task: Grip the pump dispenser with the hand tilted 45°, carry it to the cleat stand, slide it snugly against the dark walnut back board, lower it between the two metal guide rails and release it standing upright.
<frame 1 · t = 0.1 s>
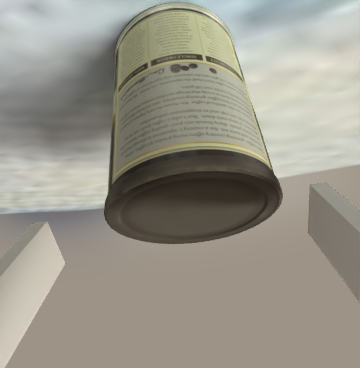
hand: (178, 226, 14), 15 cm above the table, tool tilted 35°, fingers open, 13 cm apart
coffee can: (175, 63, 23), on the table
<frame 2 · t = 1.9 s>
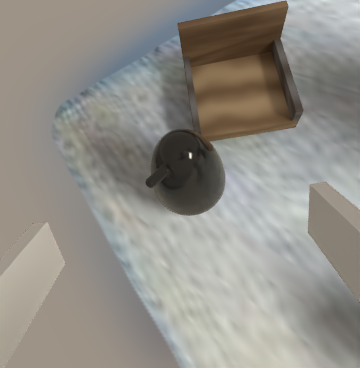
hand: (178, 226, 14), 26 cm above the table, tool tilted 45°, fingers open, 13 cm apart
pump dispenser: (191, 189, 42), on the table
cleat stand: (237, 100, 46), on the table
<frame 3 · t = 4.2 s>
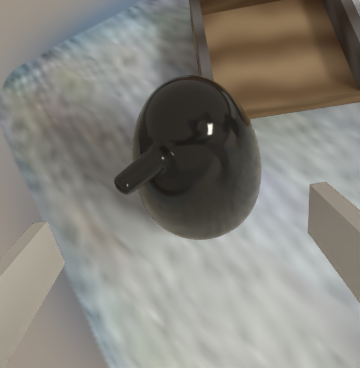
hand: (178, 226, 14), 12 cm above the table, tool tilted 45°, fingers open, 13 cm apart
pump dispenser: (200, 195, 27), on the table
cleat stand: (267, 63, 31), on the table
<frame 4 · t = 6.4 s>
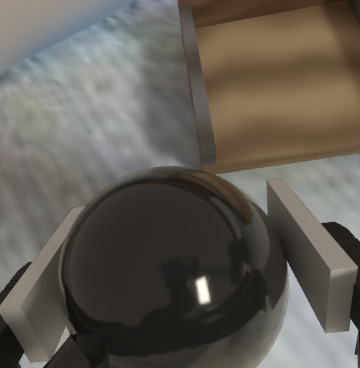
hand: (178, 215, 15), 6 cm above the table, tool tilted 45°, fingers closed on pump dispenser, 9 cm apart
pump dispenser: (192, 277, 20), on the table, touching gripper
cleat stand: (281, 90, 24), on the table
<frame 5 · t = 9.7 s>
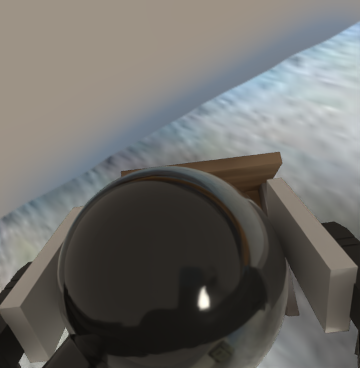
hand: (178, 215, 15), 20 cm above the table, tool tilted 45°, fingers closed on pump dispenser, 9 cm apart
pump dispenser: (192, 277, 20), point 14 cm above the table, touching gripper
cleat stand: (209, 254, 33), on the table
when the fingers open (10 cm above the table, at t = 12.8 s): pump dispenser drops 1 cm, resting on cleat stand.
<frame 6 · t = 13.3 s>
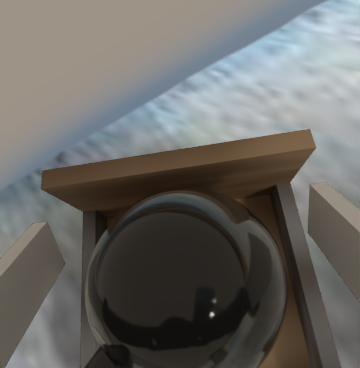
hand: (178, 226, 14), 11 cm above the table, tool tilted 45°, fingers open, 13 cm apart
pump dispenser: (198, 278, 21), point 2 cm above the table, touching cleat stand
cleat stand: (199, 293, 22), on the table
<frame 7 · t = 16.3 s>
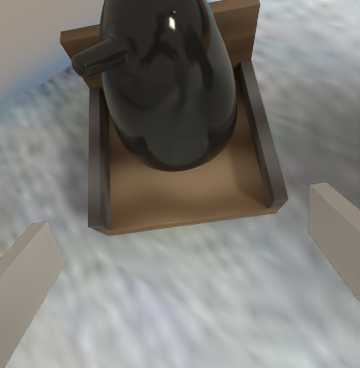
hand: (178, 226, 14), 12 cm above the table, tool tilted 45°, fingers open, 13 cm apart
pump dispenser: (180, 140, 27), point 2 cm above the table, touching cleat stand
cleat stand: (181, 158, 28), on the table
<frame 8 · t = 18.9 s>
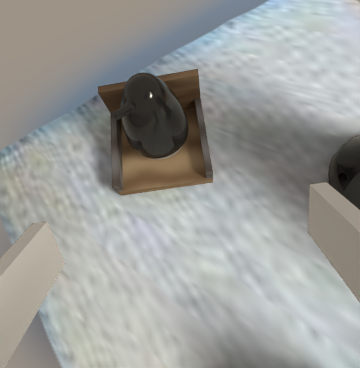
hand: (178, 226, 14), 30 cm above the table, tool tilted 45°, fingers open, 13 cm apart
pump dispenser: (161, 142, 47), point 2 cm above the table, touching cleat stand
cleat stand: (162, 152, 49), on the table
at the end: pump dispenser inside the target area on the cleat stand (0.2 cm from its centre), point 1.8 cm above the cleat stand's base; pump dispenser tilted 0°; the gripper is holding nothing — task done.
